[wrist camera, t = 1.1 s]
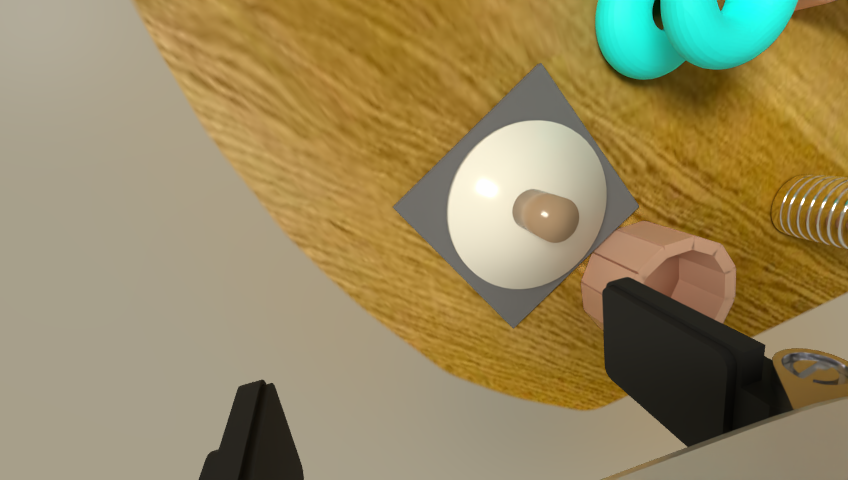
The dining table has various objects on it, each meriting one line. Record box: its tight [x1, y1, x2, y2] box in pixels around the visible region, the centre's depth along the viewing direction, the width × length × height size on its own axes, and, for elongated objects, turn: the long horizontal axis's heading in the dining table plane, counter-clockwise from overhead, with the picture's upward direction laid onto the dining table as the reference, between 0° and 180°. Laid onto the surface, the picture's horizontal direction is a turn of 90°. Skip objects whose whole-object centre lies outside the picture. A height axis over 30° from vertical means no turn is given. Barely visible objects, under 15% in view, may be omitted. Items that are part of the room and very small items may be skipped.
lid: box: [446, 120, 607, 289], centre depth 34 cm, size 15×15×5 cm
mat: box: [393, 63, 639, 328], centre depth 37 cm, size 17×17×1 cm
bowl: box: [581, 221, 736, 331], centre depth 40 cm, size 12×12×6 cm
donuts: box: [595, 0, 798, 80], centre depth 31 cm, size 10×10×10 cm
